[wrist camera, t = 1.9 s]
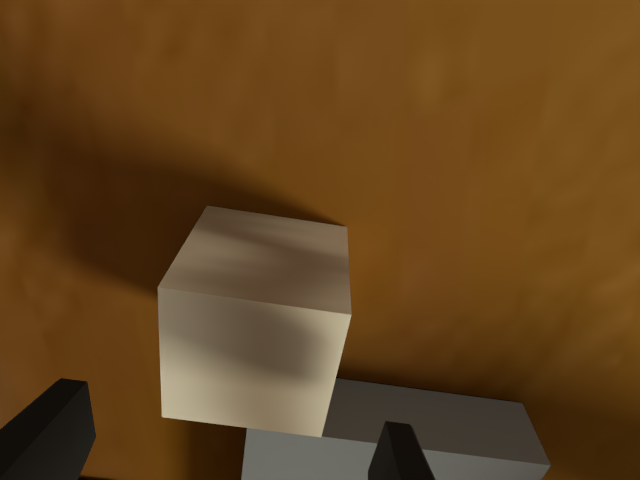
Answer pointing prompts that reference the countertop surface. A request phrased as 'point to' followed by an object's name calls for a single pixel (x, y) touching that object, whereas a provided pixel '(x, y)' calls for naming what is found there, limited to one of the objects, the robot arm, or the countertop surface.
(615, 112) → the countertop surface
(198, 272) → the birch block
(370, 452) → the gray plinth
